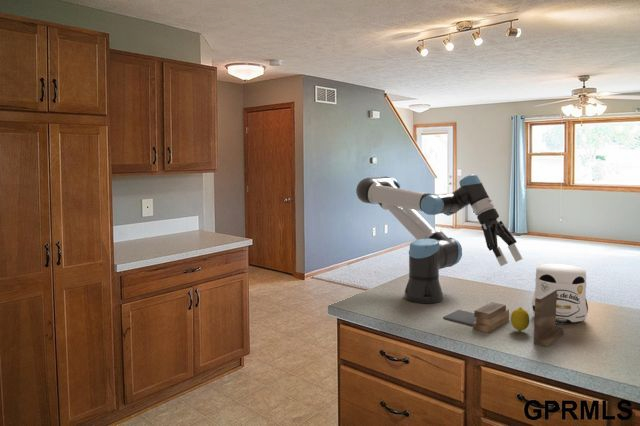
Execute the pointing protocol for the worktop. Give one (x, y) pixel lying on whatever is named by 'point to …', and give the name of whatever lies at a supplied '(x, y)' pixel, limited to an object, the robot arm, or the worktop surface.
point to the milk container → (563, 290)
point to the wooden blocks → (543, 320)
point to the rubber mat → (461, 317)
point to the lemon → (520, 319)
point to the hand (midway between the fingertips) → (512, 262)
